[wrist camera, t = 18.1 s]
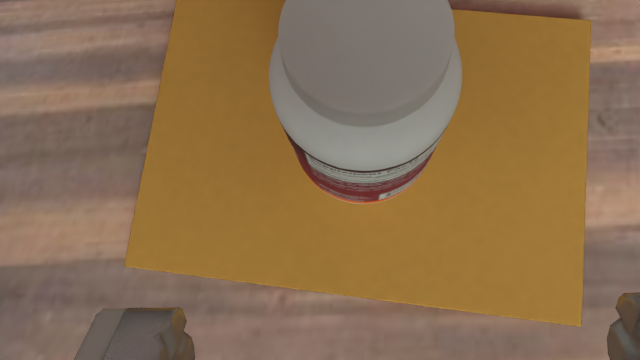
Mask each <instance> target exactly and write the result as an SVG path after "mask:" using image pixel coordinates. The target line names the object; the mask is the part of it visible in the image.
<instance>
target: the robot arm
mask: <svg viewBox="0 0 640 360" xmlns="http://www.w3.org/2000/svg"><path fill="white" fill-rule="evenodd" d="M616 310H617V312H618V313H619V315H620V318H619V319H618V320H617V321H615V322H614V323H613V324H611V325H610V328H609V332H608V336H607V346H608V355H609V358H610V360H640V292H635V293H624V294H623V295H622V296H621V297H620V298H619V299H618V302H617V305H616ZM186 322H187V321H186V318H185V315H184V312H183V309H181V308H115V309H102V310H101V311H100V312H99V313H98V314H97V315H96V317H95V319H94V321H93V323H92V325H91V327H90V329H89V331H88V333H87V335H86V337H85V339H84V341H83V343H82V345H81V347H80V349H79V351H78V353H77V355H76V357H75V359H74V360H195V352H194V345H193V341H192V338H191V337H190V336H189V335H188V334H187V333H185V332H184V328H185V325H186Z"/></svg>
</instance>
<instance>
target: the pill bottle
mask: <svg viewBox="0 0 640 360" xmlns="http://www.w3.org/2000/svg"><path fill="white" fill-rule="evenodd" d="M454 36H455V26H454V18H453V14H452V10H451V6H450V4H449V1H448V0H286V1H285V3H284V6H283V8H282V11H281V15H280V19H279V26H278V38H277V40H276V42H275V45H274V47H273V51H272V54H271V59H270V65H269V87H270V93H271V99H272V102H273V105H274V108H275V111H276V114H277V116H278V119H279V121H280V123H281V125H282V127H283V129H284V131H285V133H286V135H287V137H288V140H289V141H290V143H291V145H292V147H293V149H294V152H295V154H296V156H297V158H298V160H299V162H300V165H301V166H302V168H303V170H304V172H305V173H306V174H307V176H308V177H309V178H310V179H311V181H312V182H313V183H314V184H315V185H316V186H317V187H318V188H320V189H321V190H322V191H324V192H325V193H326V194H328V195H330V196H332V197H334V198H336V199H339V200H341V201H345V202H349V203H355V204H373V203H378V202H382V201H386V200H388V199H391V198H393V197H395V196H397V195H399V194H401V193H402V192H404V191H405V190H407V189H408V188H409V187H410V186H411V185H412V184H413V183H414V182H415V181H416V180H417V179H418V178H419V177H420V175H421V174H422V173H423V171H424V169H425V168H426V166H427V164H428V162H429V160H430V158H431V156H432V154H433V153H434V150H435V149H436V147H437V145H438V143H439V141H440V139H441V137H442V135H443V133H444V132H445V130H446V128H447V126H448V124H449V122H450V120H451V118H452V116H453V114H454V111H455V109H456V106H457V104H458V101H459V97H460V92H461V87H462V64H461V57H460V52H459V48H458V45H457V42H456V40H455V37H454Z"/></svg>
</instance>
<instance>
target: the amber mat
mask: <svg viewBox="0 0 640 360" xmlns="http://www.w3.org/2000/svg"><path fill="white" fill-rule="evenodd" d="M285 1H286V0H177V1H176V6H175V11H174V17H173V22H172V27H171V32H170V37H169V42H168V47H167V52H166V57H165V62H164V67H163V72H162V77H161V82H160V87H159V92H158V97H157V102H156V107H155V112H154V117H153V122H152V128H151V133H150V138H149V143H148V148H147V153H146V158H145V163H144V168H143V173H142V178H141V183H140V188H139V193H138V198H137V203H136V208H135V213H134V218H133V223H132V228H131V233H130V239H129V244H128V249H127V254H126V259H125V264H124V266H125V267H133V268H140V269H148V270H155V271H163V272H171V273H178V274H186V275H193V276H201V277H208V278H216V279H224V280H231V281H239V282H246V283H254V284H262V285H269V286H277V287H284V288H292V289H300V290H307V291H315V292H322V293H330V294H338V295H345V296H353V297H360V298H368V299H375V300H383V301H391V302H398V303H406V304H413V305H421V306H429V307H436V308H444V309H451V310H459V311H467V312H474V313H482V314H489V315H497V316H504V317H512V318H520V319H527V320H535V321H542V322H550V323H558V324H565V325H573V326H581V325H582V294H583V263H584V232H585V201H586V170H587V139H588V108H589V77H590V45H591V20H580V19H568V18H555V17H543V16H531V15H519V14H506V13H494V12H482V11H469V10H457V9H451V10H452V14H453V18H454V26H455V36H454V37H455V40H456V42H457V45H458V48H459V52H460V57H461V64H462V87H461V92H460V97H459V101H458V104H457V106H456V109H455V111H454V114H453V116H452V118H451V120H450V122H449V124H448V126H447V128H446V130H445V132H444V133H443V135H442V137H441V139H440V141H439V143H438V145H437V147H436V149H435V150H434V153H433V154H432V156H431V158H430V160H429V162H428V164H427V166H426V168H425V169H424V171H423V173H422V174H421V175H420V177H419V178H418V179H417V180H416V181H415V182H414V183H413V184H412V185H411V186H410V187H409V188H408V189H407V190H405V191H404V192H402V193H401V194H399V195H397V196H395V197H393V198H391V199H388V200H386V201H382V202H378V203H373V204H355V203H349V202H345V201H341V200H339V199H336V198H334V197H332V196H330V195H328V194H326V193H325V192H324V191H322V190H321V189H320V188H318V187H317V186H316V185H315V184H314V183H313V182H312V181H311V179H310V178H309V177H308V176H307V174H306V173H305V172H304V170H303V168H302V166H301V165H300V162H299V160H298V158H297V156H296V154H295V152H294V149H293V147H292V145H291V143H290V141H289V140H288V137H287V135H286V133H285V131H284V129H283V127H282V125H281V123H280V121H279V119H278V116H277V114H276V111H275V108H274V105H273V102H272V99H271V93H270V87H269V65H270V59H271V54H272V51H273V47H274V45H275V42H276V40H277V38H278V26H279V19H280V15H281V11H282V8H283V6H284V3H285Z"/></svg>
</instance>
